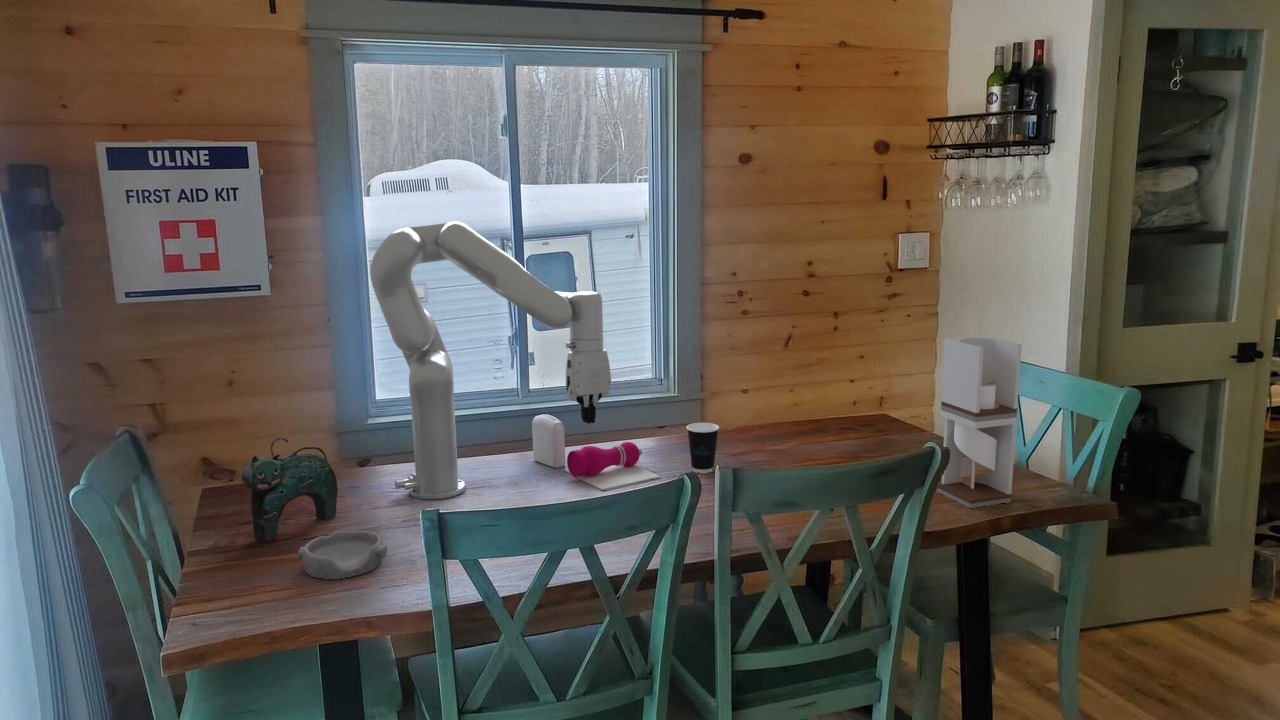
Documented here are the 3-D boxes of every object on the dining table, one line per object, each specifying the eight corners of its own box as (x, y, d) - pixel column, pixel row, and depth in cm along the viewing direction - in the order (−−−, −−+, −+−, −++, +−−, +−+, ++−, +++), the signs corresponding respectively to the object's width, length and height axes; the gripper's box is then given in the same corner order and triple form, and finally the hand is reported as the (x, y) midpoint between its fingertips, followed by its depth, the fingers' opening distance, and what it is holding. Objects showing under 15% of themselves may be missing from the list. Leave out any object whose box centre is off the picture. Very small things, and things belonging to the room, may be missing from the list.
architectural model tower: (936, 492, 207) (944, 339, 200) (975, 486, 211) (984, 335, 204) (970, 509, 197) (979, 347, 190) (1010, 502, 200) (1021, 344, 193)
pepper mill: (585, 462, 213) (653, 450, 225) (570, 442, 218) (638, 431, 230) (576, 485, 217) (644, 472, 229) (562, 465, 222) (630, 453, 233)
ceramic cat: (260, 547, 181) (250, 449, 177) (241, 540, 184) (231, 444, 180) (344, 517, 197) (337, 426, 193) (325, 511, 200) (317, 422, 196)
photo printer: (530, 460, 235) (529, 413, 232) (545, 456, 237) (543, 410, 235) (553, 469, 227) (552, 421, 224) (567, 466, 229) (566, 418, 227)
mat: (602, 491, 211) (602, 489, 211) (564, 471, 225) (564, 469, 225) (659, 478, 219) (659, 476, 219) (619, 459, 234) (619, 457, 234)
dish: (397, 565, 172) (395, 540, 171) (329, 590, 162) (327, 563, 161) (355, 545, 181) (353, 521, 180) (288, 568, 171) (286, 542, 170)
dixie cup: (696, 477, 220) (696, 432, 218) (680, 468, 227) (680, 425, 224) (725, 472, 223) (725, 428, 221) (708, 463, 230) (708, 421, 228)
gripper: (566, 351, 206) (568, 430, 209) (622, 344, 214) (624, 420, 217) (550, 346, 212) (553, 423, 216) (606, 339, 220) (607, 414, 224)
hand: (588, 421), depth 216 cm, fingers closed
